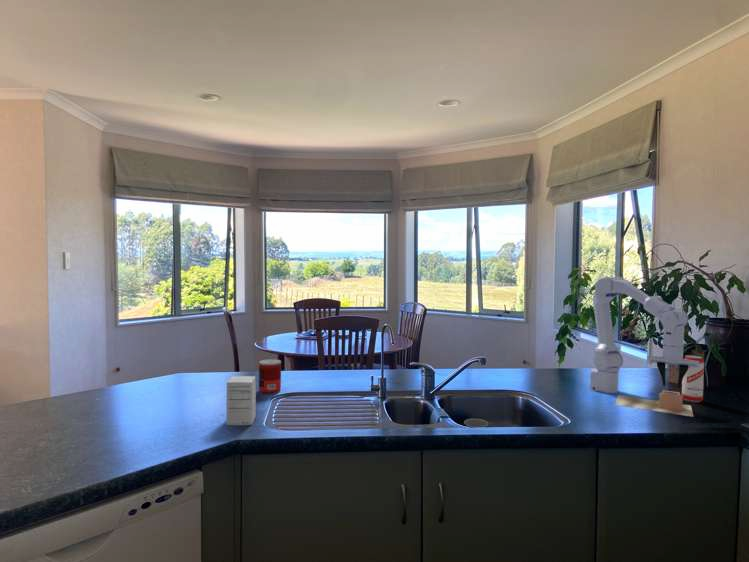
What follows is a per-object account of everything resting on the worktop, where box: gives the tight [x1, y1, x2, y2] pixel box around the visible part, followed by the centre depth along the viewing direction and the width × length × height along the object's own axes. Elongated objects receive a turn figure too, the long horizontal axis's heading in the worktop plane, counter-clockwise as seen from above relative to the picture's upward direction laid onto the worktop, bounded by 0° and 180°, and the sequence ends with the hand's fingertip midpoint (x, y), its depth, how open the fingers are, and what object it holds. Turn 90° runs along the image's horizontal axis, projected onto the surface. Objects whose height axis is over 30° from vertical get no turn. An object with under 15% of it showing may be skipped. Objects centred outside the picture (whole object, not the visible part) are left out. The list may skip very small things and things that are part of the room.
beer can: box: [681, 354, 705, 403], centre depth 169 cm, size 6×6×16 cm
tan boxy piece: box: [658, 389, 684, 411], centre depth 155 cm, size 6×5×5 cm
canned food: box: [258, 358, 282, 395], centre depth 170 cm, size 8×8×11 cm
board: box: [614, 395, 694, 418], centre depth 158 cm, size 22×14×4 cm, turn 59°
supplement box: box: [226, 375, 257, 426], centre depth 138 cm, size 7×7×13 cm
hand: (671, 386), depth 155 cm, fingers open, 3 cm apart
